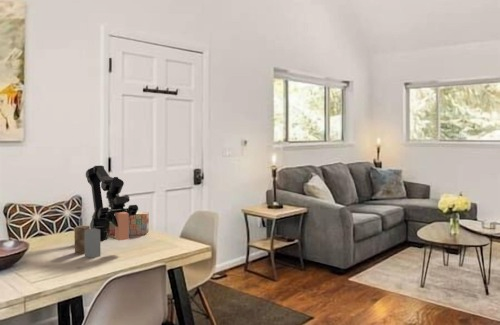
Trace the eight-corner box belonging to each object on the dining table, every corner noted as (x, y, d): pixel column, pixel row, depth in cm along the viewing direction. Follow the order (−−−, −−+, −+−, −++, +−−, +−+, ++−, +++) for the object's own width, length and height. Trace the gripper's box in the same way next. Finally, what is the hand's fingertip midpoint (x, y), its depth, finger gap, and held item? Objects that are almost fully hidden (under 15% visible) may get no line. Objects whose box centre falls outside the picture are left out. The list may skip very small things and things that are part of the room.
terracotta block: (114, 238, 210) (114, 212, 209) (125, 237, 213) (124, 211, 212) (118, 240, 206) (118, 214, 205) (128, 239, 209) (128, 213, 208)
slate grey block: (84, 256, 203) (84, 229, 203) (94, 254, 207) (94, 228, 206) (90, 258, 200) (90, 231, 199) (100, 255, 204) (100, 229, 203)
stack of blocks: (109, 235, 249) (108, 213, 248) (112, 232, 255) (111, 211, 254) (146, 234, 249) (146, 213, 249) (148, 232, 256) (148, 211, 255)
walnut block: (74, 253, 208) (74, 227, 207) (80, 250, 213) (79, 225, 212) (84, 253, 207) (84, 228, 207) (89, 251, 212) (89, 225, 212)
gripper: (99, 191, 206) (107, 217, 197) (136, 188, 217) (146, 213, 209) (94, 205, 212) (101, 231, 204) (130, 202, 224) (139, 227, 215)
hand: (122, 225), depth 208 cm, fingers closed on terracotta block, 5 cm apart
